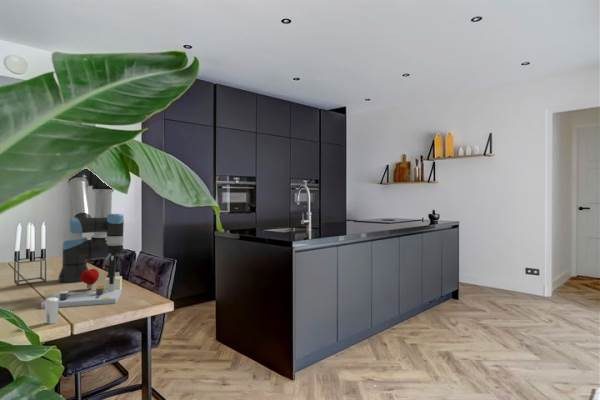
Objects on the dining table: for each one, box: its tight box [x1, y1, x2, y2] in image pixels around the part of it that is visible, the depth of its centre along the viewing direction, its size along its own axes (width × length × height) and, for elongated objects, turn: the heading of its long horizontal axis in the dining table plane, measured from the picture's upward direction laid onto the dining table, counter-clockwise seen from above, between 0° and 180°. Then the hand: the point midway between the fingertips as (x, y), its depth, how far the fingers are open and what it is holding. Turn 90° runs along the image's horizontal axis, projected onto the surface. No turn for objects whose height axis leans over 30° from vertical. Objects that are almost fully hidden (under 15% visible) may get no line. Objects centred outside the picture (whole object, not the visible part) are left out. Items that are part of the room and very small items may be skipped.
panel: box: [40, 289, 122, 309], centre depth 162 cm, size 17×28×2 cm, turn 109°
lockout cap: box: [104, 275, 123, 291], centre depth 178 cm, size 7×6×7 cm
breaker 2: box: [95, 285, 105, 295], centre depth 166 cm, size 3×2×3 cm
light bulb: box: [81, 268, 100, 291], centre depth 182 cm, size 9×7×10 cm
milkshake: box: [43, 296, 60, 325], centre depth 133 cm, size 4×5×10 cm
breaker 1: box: [59, 290, 69, 300], centre depth 156 cm, size 3×2×3 cm
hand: (113, 287), depth 178 cm, fingers open, 13 cm apart
